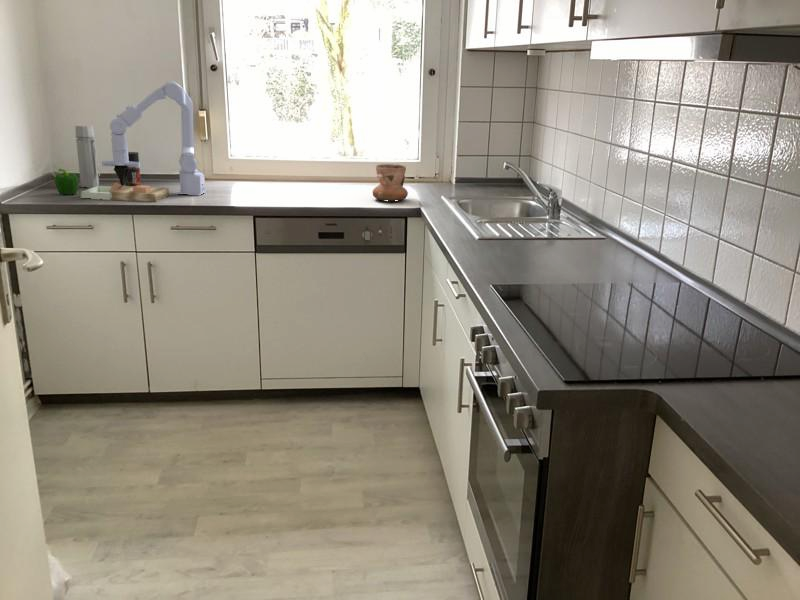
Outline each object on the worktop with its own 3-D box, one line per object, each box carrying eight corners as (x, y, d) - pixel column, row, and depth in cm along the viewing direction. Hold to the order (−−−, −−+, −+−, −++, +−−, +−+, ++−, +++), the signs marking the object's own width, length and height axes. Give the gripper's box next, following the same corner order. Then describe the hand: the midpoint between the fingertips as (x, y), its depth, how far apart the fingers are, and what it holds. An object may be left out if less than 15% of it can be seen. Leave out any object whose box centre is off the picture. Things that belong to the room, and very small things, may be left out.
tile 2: (150, 190, 276) (150, 185, 276) (146, 193, 272) (145, 187, 271) (138, 190, 277) (137, 185, 276) (133, 192, 272) (132, 187, 271)
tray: (126, 193, 286) (125, 187, 285) (110, 199, 272) (109, 193, 271) (98, 192, 286) (97, 185, 286) (80, 198, 272) (79, 192, 271)
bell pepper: (84, 193, 283) (81, 167, 280) (73, 196, 275) (70, 170, 272) (64, 192, 284) (61, 166, 281) (52, 195, 276) (49, 169, 273)
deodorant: (131, 191, 291) (128, 154, 286) (123, 189, 294) (119, 152, 290) (144, 189, 296) (141, 153, 291) (135, 187, 299) (132, 151, 294)
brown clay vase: (391, 205, 282) (392, 169, 278) (363, 200, 290) (364, 165, 286) (417, 200, 296) (419, 165, 292) (389, 195, 304) (390, 162, 300)
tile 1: (125, 183, 283) (121, 180, 283) (120, 185, 278) (115, 182, 278) (118, 192, 284) (114, 189, 284) (112, 194, 280) (108, 191, 279)
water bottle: (76, 187, 294) (69, 125, 286) (89, 184, 301) (83, 124, 294) (94, 189, 292) (88, 127, 284) (107, 186, 299) (102, 125, 291)
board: (168, 195, 285) (168, 188, 284) (155, 201, 272) (155, 194, 271) (127, 193, 285) (126, 186, 284) (112, 199, 272) (111, 191, 271)
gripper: (97, 150, 273) (100, 186, 277) (134, 152, 273) (137, 187, 277) (105, 148, 280) (108, 183, 284) (141, 150, 279) (144, 184, 284)
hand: (123, 185), depth 281 cm, fingers closed, pressing on tile 1
